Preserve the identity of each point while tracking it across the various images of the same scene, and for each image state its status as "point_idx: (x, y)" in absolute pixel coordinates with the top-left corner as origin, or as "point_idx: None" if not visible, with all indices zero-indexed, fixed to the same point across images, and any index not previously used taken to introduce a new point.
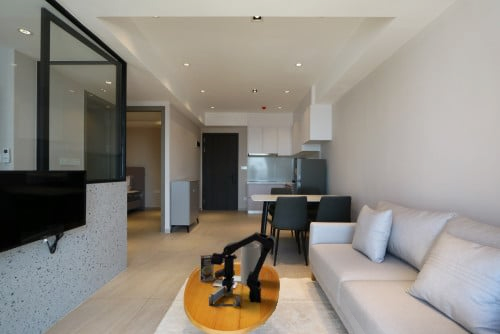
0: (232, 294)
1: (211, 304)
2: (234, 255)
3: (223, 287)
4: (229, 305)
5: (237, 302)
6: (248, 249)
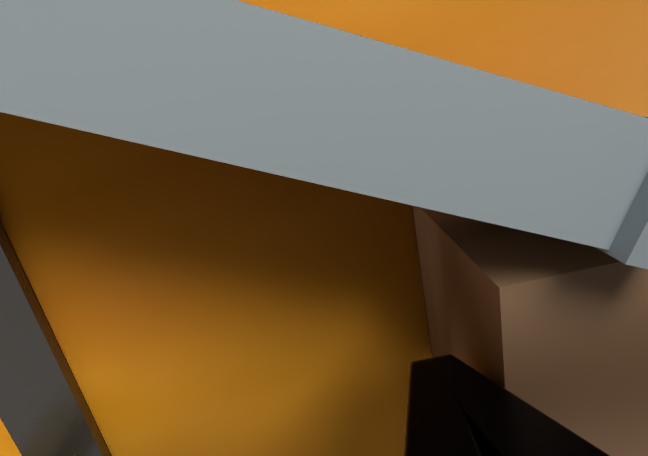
0: None
1: None
2: None
3: (588, 227)
4: (17, 422)
5: None
6: None
